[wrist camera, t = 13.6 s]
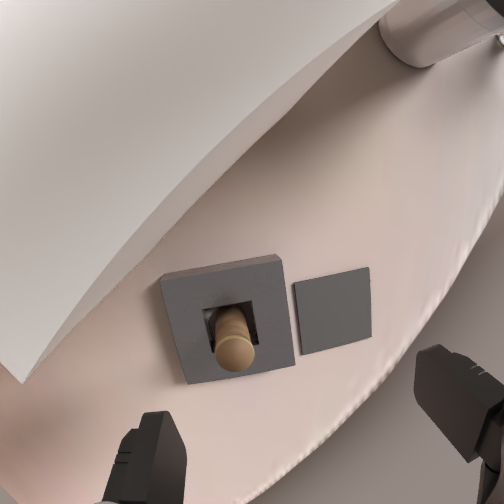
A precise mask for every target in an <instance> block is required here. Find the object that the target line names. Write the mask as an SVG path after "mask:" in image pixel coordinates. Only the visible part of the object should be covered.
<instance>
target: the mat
mask: <svg viewBox="0 0 504 504" xmlns="http://www.w3.org/2000/svg"><path fill="white" fill-rule="evenodd" d="M294 288H295V296H296V304H297V312H298V321H299V329H300V338H301V347H302V354H303V355H305V354H310V353H314V352H318V351H322V350H326V349H330V348H334V347H337V346H341V345H345V344H349V343H352V342H356V341H359V340H363V339H366V338H370V337H372V328H371V293H370V274H369V268H368V267H366V268H361V269H357V270H352V271H348V272H343V273H338V274H334V275H329V276H324V277H319V278H314V279H309V280H305V281H300V282H295V283H294Z"/></svg>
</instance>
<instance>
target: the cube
mask: <svg viewBox="0 0 504 504" xmlns="http://www.w3.org/2000/svg"><path fill="white" fill-rule="evenodd" d="M399 1H400V0H0V362H1V363H2V365H3V366H4V367H5V368H6V369H7V370H8V371H9V372H10V373H11V374H12V375H13V376H14V377H15V378H16V379H17V380H18V381H19V382H20V383H21V384H23V383H24V382H25V381H26V380H27V379H28V377H29V376H30V375H31V374H32V373H33V372H34V371H35V369H36V368H37V367H38V366H39V365H40V364H41V363H42V362H43V361H44V359H45V358H46V357H47V356H48V355H49V354H50V353H51V352H52V351H53V350H54V349H55V348H56V346H57V345H58V344H59V343H60V342H61V341H62V340H63V339H64V338H65V337H66V336H67V335H68V334H69V333H70V332H71V331H72V329H73V328H74V327H75V326H76V325H77V324H78V323H79V322H80V321H81V320H82V319H83V318H84V317H85V316H86V315H87V314H88V313H89V312H90V311H91V310H92V309H93V308H94V307H95V306H96V305H97V304H98V303H99V302H100V301H101V300H102V299H103V298H104V297H105V296H106V295H107V294H108V293H109V292H110V291H111V290H112V289H113V288H114V287H115V286H116V285H117V284H118V283H119V282H120V281H121V280H122V279H123V278H124V277H125V276H126V275H128V274H129V273H130V272H131V271H132V270H133V269H134V268H135V267H136V266H137V265H138V264H139V263H140V262H141V261H142V260H143V259H144V258H145V257H146V256H147V255H148V254H149V253H150V251H151V250H152V249H153V248H154V247H155V246H156V245H157V244H158V242H159V241H160V240H161V239H162V238H163V237H164V236H165V235H166V234H167V233H168V231H169V230H170V229H171V228H172V227H173V226H174V225H175V224H176V223H177V222H178V221H179V219H180V218H181V217H182V216H183V215H184V214H185V213H186V212H187V211H188V210H189V209H190V208H191V207H192V206H193V205H194V204H195V202H196V201H197V200H198V199H199V198H200V197H201V196H202V195H203V194H204V193H205V192H206V191H207V190H208V189H209V188H210V187H211V186H212V185H213V184H214V183H215V182H216V181H217V180H218V179H219V178H220V177H221V176H222V175H223V174H224V173H225V172H226V171H227V170H228V169H229V168H230V167H231V166H232V165H233V164H234V163H235V162H236V161H237V160H238V159H239V158H240V157H241V156H242V155H243V154H244V153H245V152H246V151H247V150H248V149H249V148H250V147H251V146H252V145H253V144H254V143H255V142H256V141H258V140H259V139H260V138H261V137H262V136H263V135H264V134H265V133H266V132H267V131H268V130H269V129H270V128H271V127H272V126H273V125H275V124H276V123H277V122H278V121H279V120H280V119H281V118H282V117H283V116H284V115H285V114H286V113H287V112H288V111H289V110H290V109H291V108H292V107H293V106H294V105H295V104H296V103H297V101H298V100H299V99H300V98H301V97H302V96H303V95H304V94H305V93H306V92H307V91H308V90H309V89H310V88H311V87H312V86H313V84H314V83H315V82H316V81H317V80H318V79H319V78H320V77H321V76H322V75H323V74H324V73H325V72H326V71H327V70H328V69H329V68H330V67H331V66H332V65H333V64H334V63H335V62H336V61H337V60H338V59H339V58H340V57H341V56H342V55H343V54H344V53H345V52H346V51H347V50H348V49H349V48H350V47H351V46H352V45H353V44H354V43H355V42H356V41H357V40H358V39H359V38H360V37H361V36H362V35H363V34H364V33H365V32H366V31H367V30H368V29H370V28H371V27H372V26H373V25H374V24H375V23H376V22H377V21H378V20H379V19H380V18H381V17H382V16H383V15H384V14H386V13H387V12H388V11H389V10H390V9H391V8H392V7H393V6H394V5H395V4H397V3H398V2H399Z"/></svg>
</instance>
